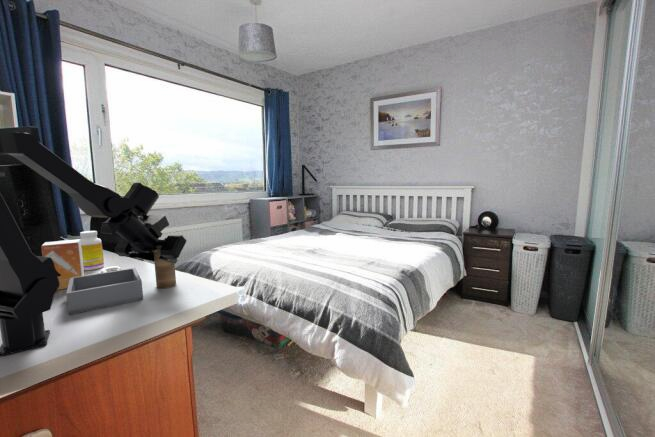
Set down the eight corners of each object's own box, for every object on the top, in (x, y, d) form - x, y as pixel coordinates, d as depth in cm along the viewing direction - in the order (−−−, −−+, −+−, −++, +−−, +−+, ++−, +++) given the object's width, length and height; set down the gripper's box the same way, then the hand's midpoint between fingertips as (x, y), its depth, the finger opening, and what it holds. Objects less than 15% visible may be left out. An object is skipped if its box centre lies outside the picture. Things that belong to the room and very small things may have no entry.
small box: (46, 292, 86) (40, 245, 85) (50, 285, 91) (44, 241, 90) (83, 286, 91) (78, 241, 89) (85, 280, 96) (80, 238, 94)
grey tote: (143, 299, 80) (141, 280, 79) (68, 314, 71) (66, 293, 70) (136, 284, 91) (135, 267, 91) (72, 296, 83) (70, 277, 82)
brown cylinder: (177, 285, 90) (174, 240, 88) (158, 289, 87) (154, 243, 85) (174, 281, 94) (170, 238, 92) (155, 284, 91) (151, 240, 89)
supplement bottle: (107, 267, 111) (104, 231, 109) (85, 272, 105) (81, 234, 103) (99, 264, 114) (95, 229, 113) (77, 269, 109) (72, 232, 107)
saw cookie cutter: (127, 278, 101) (127, 273, 100) (109, 282, 97) (108, 276, 97) (117, 269, 109) (116, 264, 109) (99, 272, 106) (99, 267, 106)
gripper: (179, 205, 81) (207, 239, 93) (119, 205, 86) (154, 237, 98) (158, 241, 75) (192, 272, 87) (95, 239, 79) (135, 269, 91)
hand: (168, 261), depth 91 cm, fingers open, 5 cm apart
